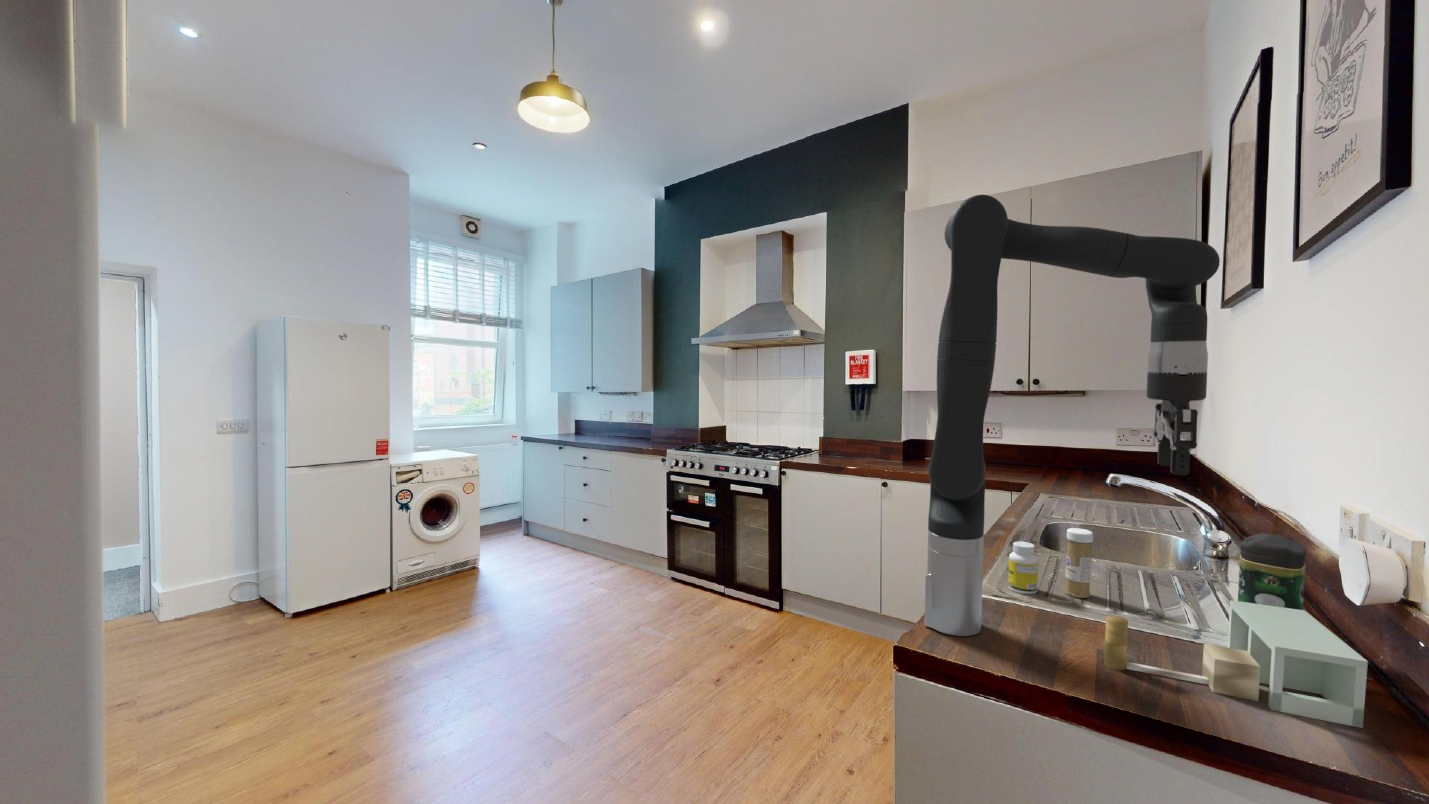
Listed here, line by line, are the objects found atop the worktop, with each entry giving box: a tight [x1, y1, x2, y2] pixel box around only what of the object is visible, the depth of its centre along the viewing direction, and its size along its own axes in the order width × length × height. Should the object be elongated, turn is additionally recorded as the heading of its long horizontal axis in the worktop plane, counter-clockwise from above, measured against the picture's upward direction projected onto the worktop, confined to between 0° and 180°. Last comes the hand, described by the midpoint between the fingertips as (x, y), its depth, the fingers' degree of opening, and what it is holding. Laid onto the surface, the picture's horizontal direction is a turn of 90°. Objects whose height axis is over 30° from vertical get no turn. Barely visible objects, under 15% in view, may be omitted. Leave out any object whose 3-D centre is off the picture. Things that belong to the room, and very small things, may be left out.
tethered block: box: [1103, 615, 1261, 702], centre depth 87 cm, size 18×5×8 cm, turn 63°
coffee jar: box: [1237, 532, 1307, 610], centre depth 96 cm, size 10×8×19 cm
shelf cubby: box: [1227, 600, 1369, 729], centre depth 84 cm, size 9×17×9 cm, turn 154°
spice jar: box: [1063, 527, 1094, 599], centre depth 118 cm, size 5×5×14 cm
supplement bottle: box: [1008, 541, 1039, 595], centre depth 120 cm, size 5×5×10 cm
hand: (1172, 469), depth 93 cm, fingers open, 8 cm apart
